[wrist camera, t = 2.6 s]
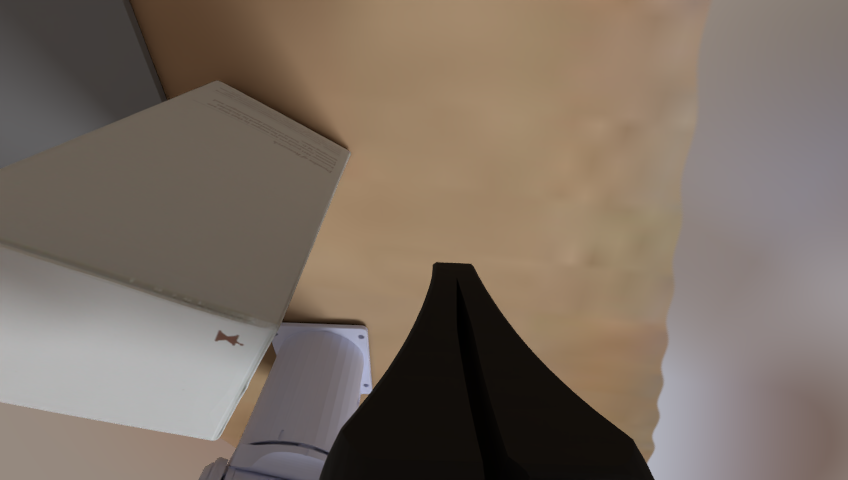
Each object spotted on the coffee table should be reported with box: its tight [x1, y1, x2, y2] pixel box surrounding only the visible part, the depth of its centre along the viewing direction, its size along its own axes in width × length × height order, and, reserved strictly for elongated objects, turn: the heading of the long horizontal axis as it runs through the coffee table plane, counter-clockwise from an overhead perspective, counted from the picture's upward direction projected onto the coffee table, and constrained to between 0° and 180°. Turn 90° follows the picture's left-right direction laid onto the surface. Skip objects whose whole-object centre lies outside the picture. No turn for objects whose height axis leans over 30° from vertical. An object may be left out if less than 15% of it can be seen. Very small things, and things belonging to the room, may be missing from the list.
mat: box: [0, 0, 167, 169], centre depth 19 cm, size 18×11×1 cm, turn 177°
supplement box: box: [0, 81, 351, 441], centre depth 14 cm, size 7×7×13 cm
